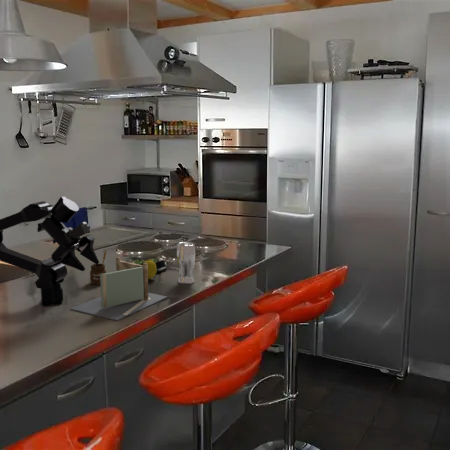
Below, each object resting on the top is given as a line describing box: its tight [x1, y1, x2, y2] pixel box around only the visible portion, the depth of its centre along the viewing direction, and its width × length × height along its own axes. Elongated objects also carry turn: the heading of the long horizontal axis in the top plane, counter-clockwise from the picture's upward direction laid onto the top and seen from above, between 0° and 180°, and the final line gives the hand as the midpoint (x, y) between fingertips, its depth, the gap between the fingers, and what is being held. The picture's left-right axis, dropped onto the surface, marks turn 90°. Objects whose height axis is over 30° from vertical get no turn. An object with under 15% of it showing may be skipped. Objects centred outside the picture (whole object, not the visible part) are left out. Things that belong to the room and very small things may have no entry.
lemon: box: [144, 258, 157, 280], centre depth 205 cm, size 6×6×8 cm
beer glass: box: [176, 241, 196, 285], centre depth 201 cm, size 7×7×15 cm
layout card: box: [70, 292, 168, 322], centre depth 178 cm, size 26×20×1 cm
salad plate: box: [130, 258, 168, 274], centre depth 221 cm, size 19×18×5 cm
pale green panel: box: [100, 267, 144, 308], centre depth 174 cm, size 15×2×11 cm, turn 129°
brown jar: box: [89, 250, 107, 286], centre depth 200 cm, size 6×6×12 cm
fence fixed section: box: [115, 257, 149, 300], centre depth 184 cm, size 15×2×13 cm, turn 54°
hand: (91, 266), depth 172 cm, fingers open, 9 cm apart
